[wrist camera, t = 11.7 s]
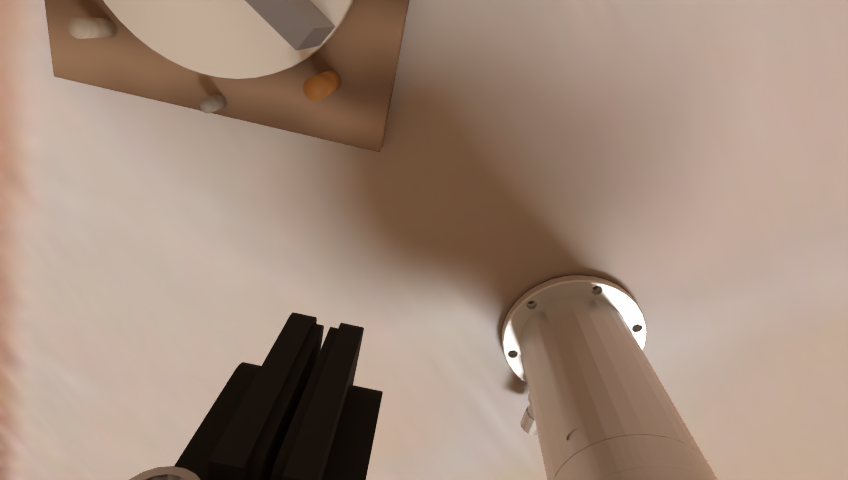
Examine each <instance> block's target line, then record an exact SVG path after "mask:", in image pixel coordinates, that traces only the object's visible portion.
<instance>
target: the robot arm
mask: <svg viewBox="0 0 848 480" xmlns="http://www.w3.org/2000/svg"><path fill="white" fill-rule="evenodd" d="M316 321H317V320H316V317H312V316H307V315H303V314H298V313H292V314H291V315H290V317H289V318H288V320H287V322H286V324H285V326H284V327H283V329H282V331H281V333H280V334H279V336H278V338H277V340H276V342H275V343H274V345H273V347H272V349H271V350H270V352H269V354H268V356H267V357H266V359H265V361H264V363H263V365H262V366H258V365H254V364H249V363H244V362H242V363H241V364H239V366H238V367H237V368H236V370H235V371H234V373H233V374H232V376H231V378H230V379H229V381H228V382H227V384H226V385H225V387H224V389H223V390H222V392H221V393H220V395H219V396H218V398H217V400H216V401H215V403H214V404H213V406H212V408H211V409H210V411H209V412H208V414H207V415H206V417H205V419H204V420H203V422H202V423H201V425H200V426H199V428H198V430H197V431H196V433H195V434H194V436H193V437H192V439H191V441H190V442H189V444H188V445H187V447H186V448H185V450H184V452H183V453H182V455H181V456H180V458H179V460H178V461H177V463H176V464H175V466H170V467H158V468H155V469H151V470H148V471H145V472H142V473H140V474H139V475H137V476H135V477H133V478H131V479H130V480H366V475H367V470H368V465H369V460H370V454H371V449H372V444H373V439H374V434H375V429H376V424H377V419H378V413H379V408H380V403H381V398H382V391H377V390H372V389H368V388H363V387H358V386H353V381H354V376H355V371H356V366H357V361H358V356H359V351H360V346H361V341H362V336H363V330H364V328H363V327H358V326H354V325H349V324H344V323H341V324H340V326H339V328H338V329H337V328H333V327H330V329H329V331H328V333H327V336H326V338H325V341H324V343H323V346H322V348H321V343H322V337H323V330H324V326H323V325H319V324H316ZM646 334H647V333H646V322H645V319H644V316H643V313H642V311H641V309H640V308H639V306H638V305H637V303H636V301H635V300H634V299H633V298H632V297H631V295H630V294H629V293H628V292H626V291H625V290H624V289H623V288H621V287H620V286H619V285H617V284H614V283H612V282H610V281H608V280H606V279H602V278H598V277H594V276H585V275H574V276H564V277H559V278H555V279H551V280H549V281H546V282H544V283H541V284H539V285H537V286H536V287H534V288H532V289H531V290H529V291H527V292H526V293H525V294H524V295H523V296H522V297H520V298H519V299H518V300H517V301H516V302H515V304H514V305H513V306H512V308H511V309H510V310H509V312H508V314H507V316H506V318H505V320H504V324H503V328H502V347H503V353H504V356H505V358H506V361H507V363H508V365H509V366H510V368H511V369H512V371H513V372H514V373H515V374H516V375H517V376H518V377H519V378H520V379H521V380H523V381H524V382H526V383H527V384H528V389H529V396H528V400H529V402H530V404H529V406H528V407H527V409H526V411H525V413H524V416H523V418H522V420H521V427H522V428H523V430H524V431H526V432H527V433H529V434H532V435H536V434H538V437H539V442H540V446H541V451H542V456H543V461H544V465H545V470H546V475H547V480H718V479H717V478H716V476H715V474H714V472H713V471H712V469H711V467H710V466H709V464H708V462H707V461H706V460H705V458H704V456H703V454H702V453H701V451H700V449H699V447H698V446H697V444H696V442H695V441H694V439H693V437H692V435H691V434H690V432H689V430H688V428H687V427H686V425H685V423H684V422H683V420H682V418H681V416H680V415H679V413H678V411H677V409H676V408H675V406H674V404H673V402H672V401H671V399H670V397H669V396H668V394H667V392H666V390H665V389H664V387H663V385H662V383H661V382H660V380H659V378H658V377H657V375H656V373H655V371H654V370H653V368H652V366H651V364H650V363H649V361H648V359H647V358H646V356H645V354H644V352H643V351H642V350H643V348H644V345H645V340H646ZM320 350H321V351H320Z"/></svg>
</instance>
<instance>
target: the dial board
mask: <svg viewBox="0 0 848 480" xmlns="http://www.w3.org/2000/svg"><path fill="white" fill-rule="evenodd" d="M408 4H409V0H354V1H353V4H352V6H351V8H350V10H349V12H348V13H347V15H346V17H345V19H344V21H343V22H342V24H341V25H340V27H339V28H338V29H337V31H336V32H335V33H334V35H333V36H332V37H331V38H330V39H329V40H328V41H327V42H326V43H325V44H324V45H323V47H322V48H321V49H319V50H318V51H317V52H315V53H314V54H313V55H311V56H310V57H309V58H308V59H306V60H304V61H302V62H300V63H299V64H297V65H295V66H293V67H291V68H288V69H285V70H282V71H280V72H277V73H274V74H270V75H265V76H261V77H256V78H244V79H232V78H220V77H215V76H210V75H206V74H202V73H199V72H196V71H193V70H190V69H187V68H185V67H183V66H181V65H178V64H176V63H174V62H172V61H170V60H168V59H167V58H165V57H163V56H162V55H160V54H159V53H157V52H156V51H154V50H153V49H151V48H150V47H148V46H147V45H146V44H145V43H143V42H142V41H141V40H140V39H139V38H137V37H136V36H135V35H134V34H133V33H132V32H131V31H130V30H129V29H128V28H127V27H126V26H125V25H124V24H123V23H122V22H121V21H120V20H119V19H118V18H117V17H116V16H115V15H114V13H113V12H112V11H111V10H110V9H109V7H108V6H107V5H106V4H105V2H104V1H103V0H45V7H46V15H47V23H48V31H49V39H50V47H51V55H52V64H53V72H54V76H55V77H59V78H63V79H68V80H72V81H76V82H80V83H85V84H89V85H93V86H98V87H102V88H106V89H111V90H115V91H119V92H123V93H128V94H132V95H136V96H141V97H145V98H149V99H154V100H158V101H162V102H167V103H171V104H175V105H179V106H184V107H188V108H192V109H197V110H201V111H203V112H205V113H214V114H218V115H222V116H227V117H231V118H235V119H240V120H244V121H248V122H253V123H257V124H261V125H266V126H270V127H274V128H278V129H283V130H287V131H291V132H296V133H300V134H304V135H309V136H313V137H317V138H321V139H326V140H330V141H334V142H339V143H343V144H347V145H352V146H356V147H360V148H365V149H369V150H373V151H377V152H380V150H381V148H382V145H383V139H384V134H385V129H386V123H387V118H388V112H389V107H390V102H391V96H392V91H393V85H394V80H395V75H396V69H397V64H398V58H399V53H400V47H401V42H402V37H403V31H404V26H405V20H406V15H407V10H408Z"/></svg>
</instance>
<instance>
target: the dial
mask: <svg viewBox="0 0 848 480" xmlns="http://www.w3.org/2000/svg"><path fill="white" fill-rule="evenodd" d="M103 1H104V2H105V4H106V5H107V6H108V7H109V9H110V10H111V11H112V12H113V13H114V15H115V16H116V17H117V18H118V19H119V20H120V21H121V22H122V23H123V24H124V25H125V26H126V27H127V28H128V29H129V30H130V31H131V32H132V33H133V34H134V35H135V36H136V37H137V38H139V39H140V40H141V41H142V42H143V43H145V44H146V45H147V46H148V47H150V48H151V49H153V50H154V51H156V52H157V53H159V54H160V55H162V56H163V57H165V58H167V59H168V60H170V61H172V62H174V63H176V64H178V65H181V66H183V67H185V68H187V69H190V70H193V71H196V72H199V73H202V74H206V75H210V76H215V77H220V78H232V79H244V78H256V77H261V76H265V75H270V74H274V73H277V72H280V71H282V70H285V69H288V68H291V67H293V66H295V65H297V64H299V63H300V62H302V61H304V60H306V59H308V58H309V57H310V56H311V55H313V54H314V53H315V52H317V51H318V50H319V49H321V48H322V47H323V45H324V44H325V43H326V42H327V41H328V40H329V39H330V38H331V37H332V36H333V35H334V33H335V32H336V31H337V29H338V28H339V27H340V25H341V24H342V22H343V21H344V19H345V17H346V15H347V13H348V12H349V10H350V8H351V6H352V4H353V1H354V0H103Z"/></svg>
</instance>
